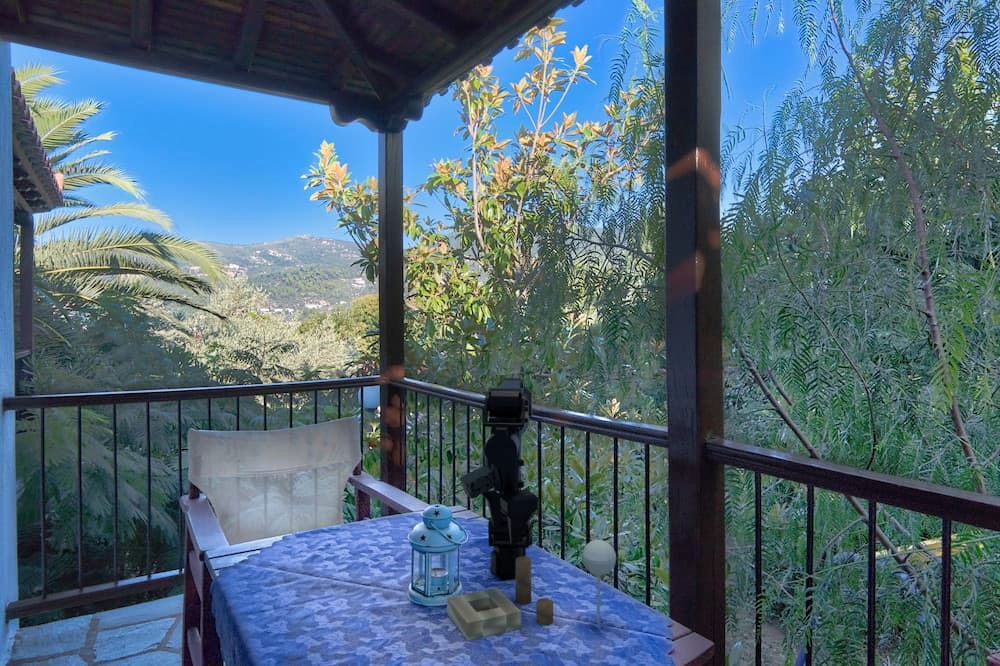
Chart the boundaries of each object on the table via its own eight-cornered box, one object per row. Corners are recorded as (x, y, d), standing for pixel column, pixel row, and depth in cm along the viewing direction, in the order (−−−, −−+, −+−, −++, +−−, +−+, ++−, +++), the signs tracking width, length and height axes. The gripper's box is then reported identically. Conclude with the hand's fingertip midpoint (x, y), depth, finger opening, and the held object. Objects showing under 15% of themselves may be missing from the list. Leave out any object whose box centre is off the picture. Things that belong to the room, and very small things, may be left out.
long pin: (526, 596, 119) (526, 555, 119) (533, 602, 116) (534, 561, 116) (512, 598, 118) (513, 557, 117) (519, 605, 115) (520, 563, 115)
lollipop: (607, 637, 104) (608, 550, 103) (575, 627, 107) (576, 543, 107) (620, 622, 109) (621, 538, 109) (589, 613, 112) (590, 532, 112)
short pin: (548, 615, 111) (548, 597, 111) (556, 623, 109) (556, 604, 108) (533, 619, 110) (533, 600, 110) (541, 627, 107) (541, 607, 107)
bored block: (497, 603, 116) (497, 587, 116) (520, 628, 107) (521, 611, 107) (447, 613, 112) (447, 597, 112) (467, 640, 103) (467, 623, 102)
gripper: (450, 446, 122) (450, 524, 122) (481, 469, 104) (481, 559, 105) (502, 442, 126) (502, 517, 126) (541, 464, 108) (540, 550, 109)
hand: (504, 534), depth 117 cm, fingers open, 9 cm apart
